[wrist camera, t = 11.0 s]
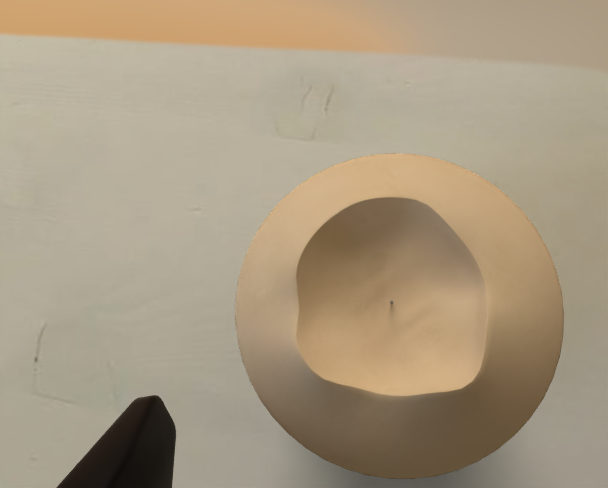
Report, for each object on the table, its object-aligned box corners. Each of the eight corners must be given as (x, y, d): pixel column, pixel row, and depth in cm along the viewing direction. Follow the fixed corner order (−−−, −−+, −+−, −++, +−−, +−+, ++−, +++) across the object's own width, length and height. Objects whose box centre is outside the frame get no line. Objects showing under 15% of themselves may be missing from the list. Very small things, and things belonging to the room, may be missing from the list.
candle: (513, 349, 16) (695, 344, 7) (371, 451, 16) (349, 593, 7) (405, 214, 18) (428, 50, 8) (274, 308, 18) (141, 257, 8)
